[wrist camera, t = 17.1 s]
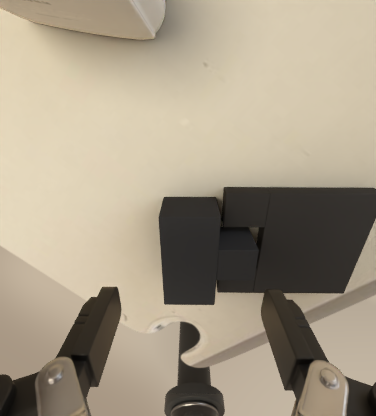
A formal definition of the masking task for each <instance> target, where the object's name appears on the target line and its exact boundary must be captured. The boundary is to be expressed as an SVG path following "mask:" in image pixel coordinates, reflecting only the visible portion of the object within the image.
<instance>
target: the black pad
mask: <svg viewBox="0 0 376 416" xmlns="http://www.w3.org/2000/svg"><path fill="white" fill-rule="evenodd" d="M375 219H376V189H375V188H263V187H224V193H223V206H222V223H223V227H259V231H258V237H257V243H256V245H257V247H258V250H259V253H258V258H257V264H256V270H255V276H254V280H253V281H244V280H217V282H216V283H217V290H218V292H236V293H265V290H266V289H281V290H282V292H283V293H344V291H345V289H346V286H347V284H348V282H349V279H350V277H351V275H352V272H353V270H354V268H355V265H356V263H357V261H358V258H359V256H360V254H361V251H362V249H363V247H364V244H365V242H366V240H367V237H368V235H369V233H370V230H371V228H372V226H373V223H374V221H375Z"/></svg>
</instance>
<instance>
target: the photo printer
mask: <svg viewBox="0 0 376 416" xmlns="http://www.w3.org/2000/svg"><path fill="white" fill-rule="evenodd" d="M165 7H166V3H165V0H0V8H1V9H4V10H6V11H8V12H10V13H12V14H15V15H17V16H19V17H21V18H24V19H27V20H30V21H33V22H36V23H40V24H45V25H49V26H54V27H59V28H64V29H69V30H74V31H79V32H86V33H92V34H98V35H104V36H112V37H119V38H128V39H138V40H146V39H155V33H156V32H157V31H158V30H159V28H160V27H161V25H162V23H163V20H164V16H165Z"/></svg>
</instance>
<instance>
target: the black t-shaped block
mask: <svg viewBox="0 0 376 416" xmlns="http://www.w3.org/2000/svg"><path fill="white" fill-rule="evenodd" d="M220 223H221V216H220V212H219V208H218V204H217V200H216V197H164V199H163V203H162V207H161V210H160V214H159V229H160V245H161V260H162V275H163V290H164V304H174V305H214V303H215V289H216V280H244V281H253V280H254V276H255V270H256V264H257V258H258V253H259V250H258V247H257V245H256V243H255V241H254V239H253V236H252V234H251V232H250V230H249V227H220Z"/></svg>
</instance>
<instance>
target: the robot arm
mask: <svg viewBox="0 0 376 416" xmlns="http://www.w3.org/2000/svg"><path fill="white" fill-rule="evenodd" d="M120 316H121V303H120V297H119V292H118V288H117V287H102V288H101V290H100V292H99V295H98V297H91V298H90V299H89V300H88V301H87V302H86V303H85V304H84V305H83V307H82V309H81V311H80V313H79V316H78V317H77V319H76V320H75V324H74V325H73V326H72V328H71V330H70V332H69V334H68V336H67V338H66V340H65V342H64V344H63V345H62V347H61V349H60V351H59V353H58V355H57V356H56V358H55V359H54V360H52V361H50V362H49V363H47V364H46V365H45V366H44V367H43V368H42V369H41V370H40V371H39V372H37V373H35V374H32V375H29V376H26V377H22V378H19V379H16V380H13V381H12V379H11V378H10V376H8V375H0V416H91V413H90V409H89V406H88V402H87V399H86V397H87V394H88V392H89V389H90V387H98V385H99V382H100V379H101V376H102V373H103V370H104V367H105V363H106V360H107V357H108V354H109V351H110V348H111V345H112V342H113V339H114V336H115V332H116V329H117V326H118V323H119V320H120ZM261 316H262V321H263V324H264V327H265V330H266V333H267V337H268V340H269V343H270V346H271V349H272V352H273V355H274V358H275V361H276V364H277V367H278V370H279V373H280V377H281V379H282V383H283V386H284V389H285V390H293V391H294V394H295V397H296V401H295V404H294V407H293V411H292V415H291V416H376V383H375V384H374V385H373V386H370V385H367V384H364V383H361V382H358V381H356V380H352V379H350V378H348V377H346V376H344V375H343V374H342V372H341V371H340V370H339V369H338V368H337V367H335V366H334V365H332V364H331V363H329V361H328V360H327V358H326V356H325V354H324V352H323V350H322V349H321V347H320V345H319V343H318V341H317V339H316V337H315V335H314V333H313V332H312V330H311V328H310V327H309V324H308V322H307V320H306V319H305V316H304V314H303V312H302V311H301V309H300V307H299V306H298V305H297V304H296V303H295V302H294V301H293V300H286V298H285V296H284V294H283V292H282V290H281V289H266V290H265V293H264V298H263V303H262V307H261ZM171 416H219V415H218V409H217V407H216V406H215V405H213V404H211V403H209V402H206V401H201V400H188V401H183V402H180V403H177V404H176V405H174V406H173V407H172V409H171Z"/></svg>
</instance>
